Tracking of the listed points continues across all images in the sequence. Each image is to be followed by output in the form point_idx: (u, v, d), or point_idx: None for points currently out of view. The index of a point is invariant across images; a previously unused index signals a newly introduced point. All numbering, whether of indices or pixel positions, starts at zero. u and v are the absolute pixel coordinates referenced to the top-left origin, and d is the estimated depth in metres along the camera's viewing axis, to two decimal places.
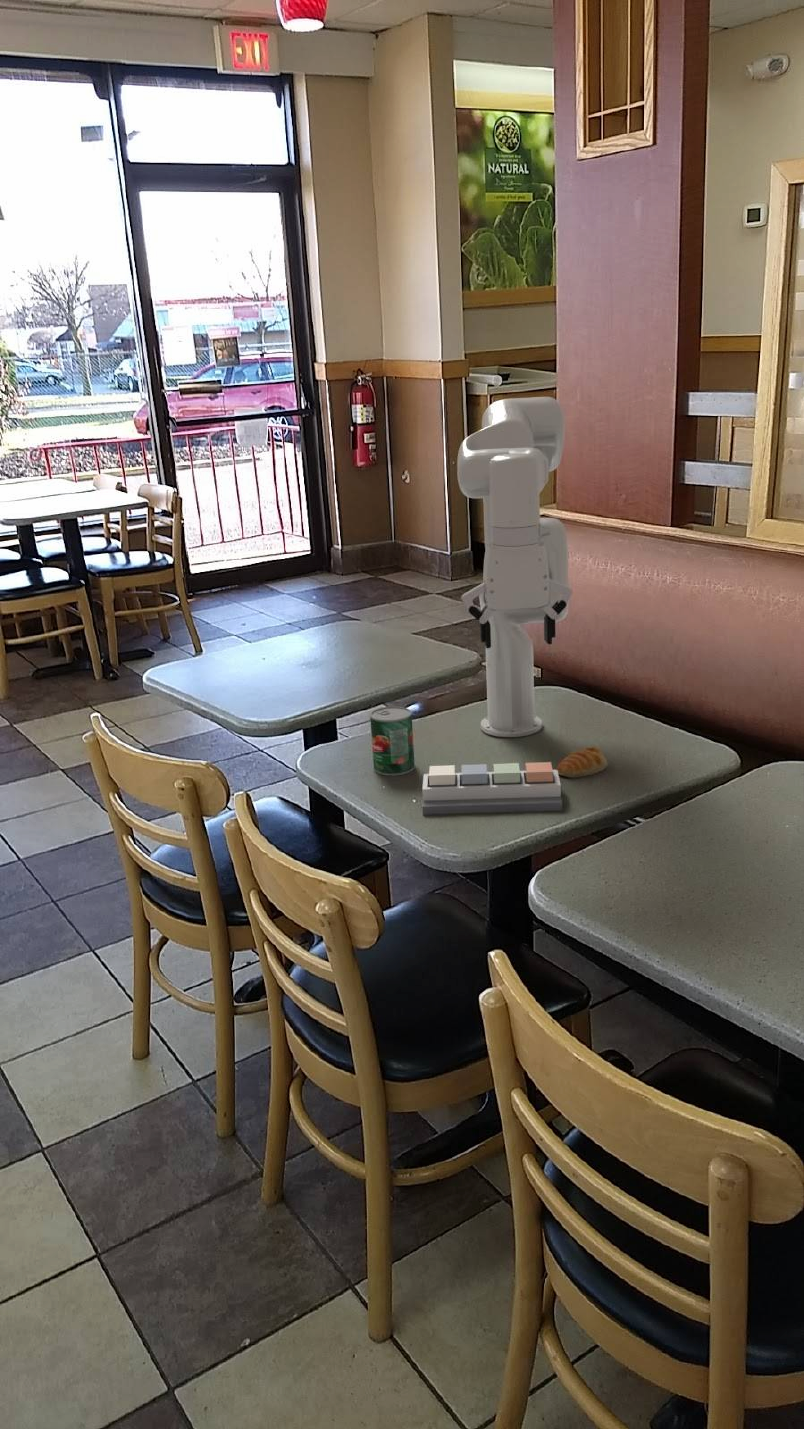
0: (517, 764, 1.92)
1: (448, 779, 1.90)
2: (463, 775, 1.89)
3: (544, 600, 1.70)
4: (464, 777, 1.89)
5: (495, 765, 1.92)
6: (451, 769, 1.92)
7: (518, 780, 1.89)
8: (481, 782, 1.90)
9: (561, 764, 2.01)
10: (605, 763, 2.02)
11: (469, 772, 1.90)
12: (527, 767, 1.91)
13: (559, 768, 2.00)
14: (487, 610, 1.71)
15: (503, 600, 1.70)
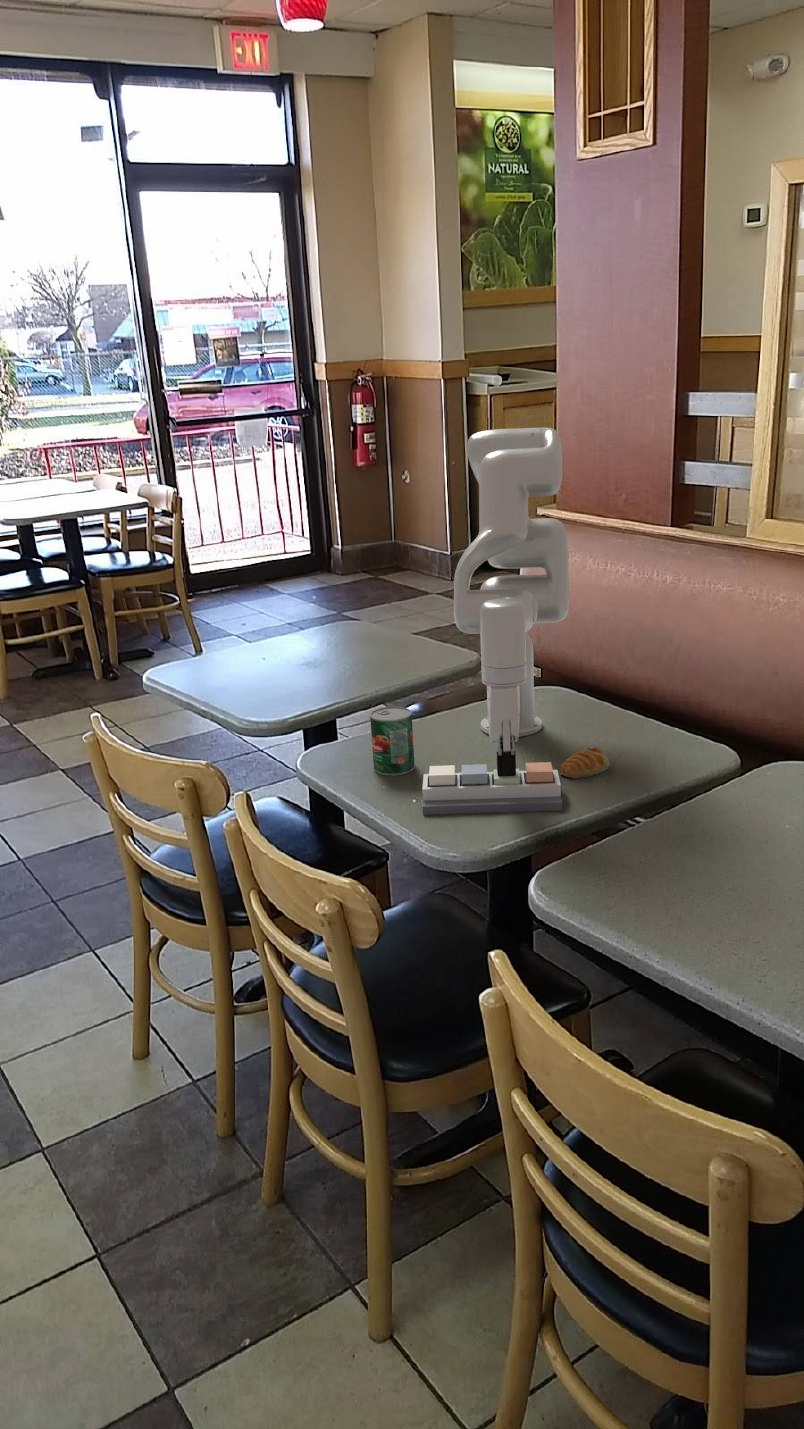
0: (517, 769, 1.93)
1: (448, 779, 1.90)
2: (463, 775, 1.89)
3: None
4: (464, 777, 1.89)
5: (495, 770, 1.93)
6: (451, 769, 1.92)
7: None
8: (481, 782, 1.90)
9: (564, 765, 2.00)
10: (608, 763, 2.02)
11: (469, 772, 1.90)
12: (527, 767, 1.91)
13: (562, 769, 2.00)
14: None
15: None
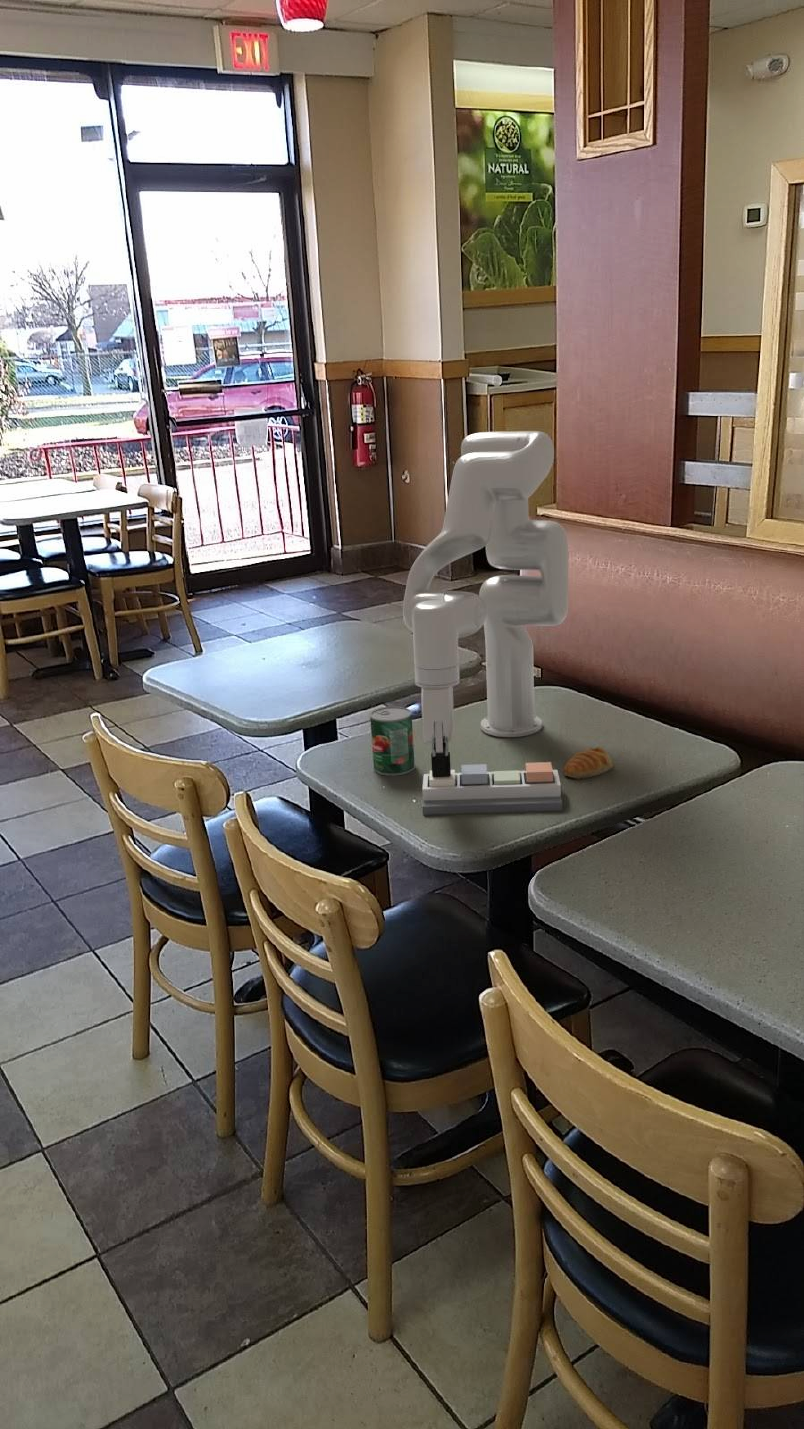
0: (517, 771, 1.93)
1: (449, 783, 1.90)
2: (463, 775, 1.89)
3: None
4: (464, 777, 1.89)
5: (495, 772, 1.93)
6: (451, 773, 1.92)
7: None
8: (481, 782, 1.90)
9: (567, 765, 2.00)
10: (610, 763, 2.02)
11: (469, 772, 1.90)
12: (527, 767, 1.91)
13: (565, 769, 2.00)
14: (447, 745, 1.88)
15: None
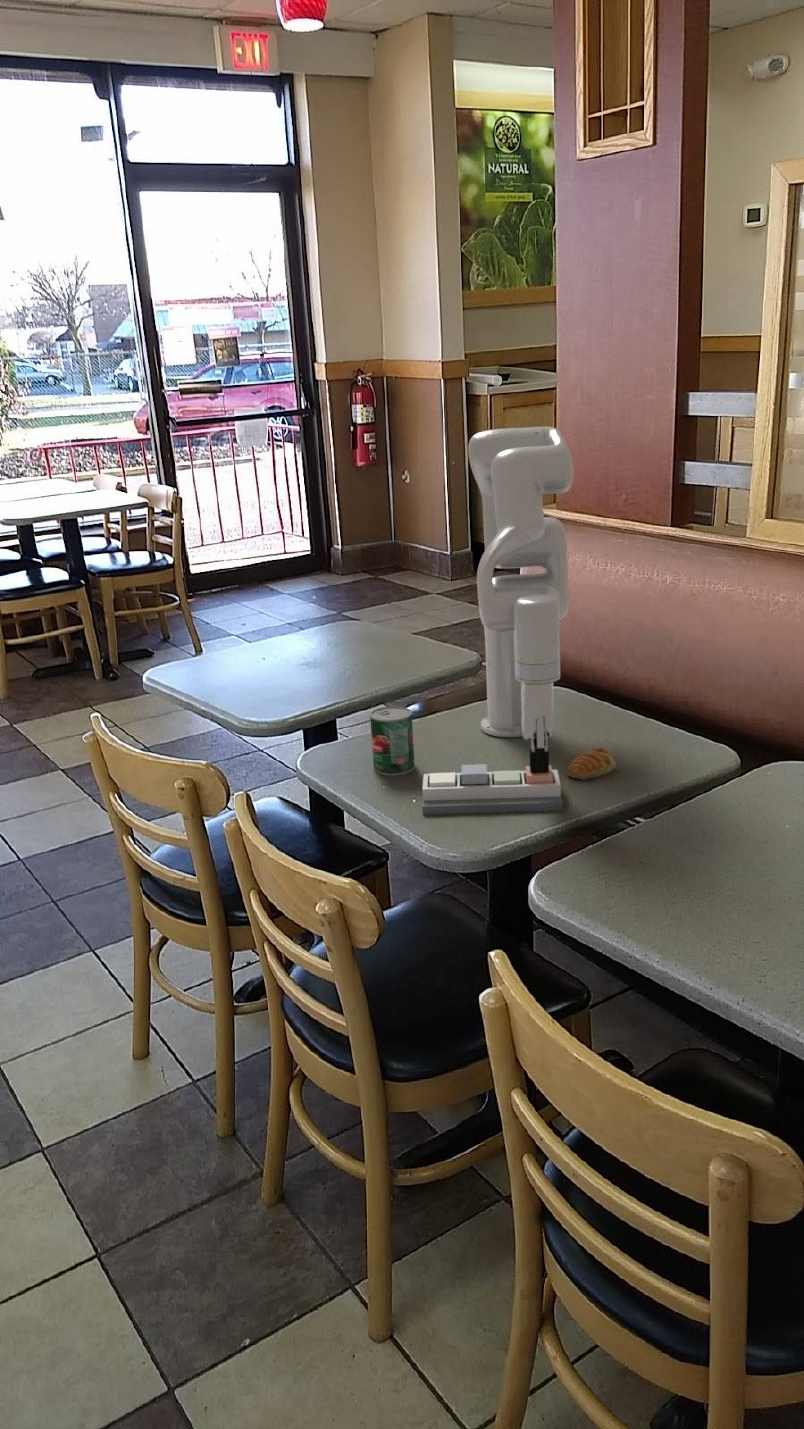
0: (517, 771, 1.93)
1: (449, 786, 1.90)
2: (463, 775, 1.89)
3: None
4: (464, 777, 1.89)
5: (495, 772, 1.93)
6: (451, 776, 1.92)
7: None
8: (481, 782, 1.90)
9: (571, 766, 2.00)
10: (614, 763, 2.02)
11: (469, 772, 1.90)
12: (527, 770, 1.91)
13: (569, 770, 1.99)
14: (547, 741, 1.87)
15: None
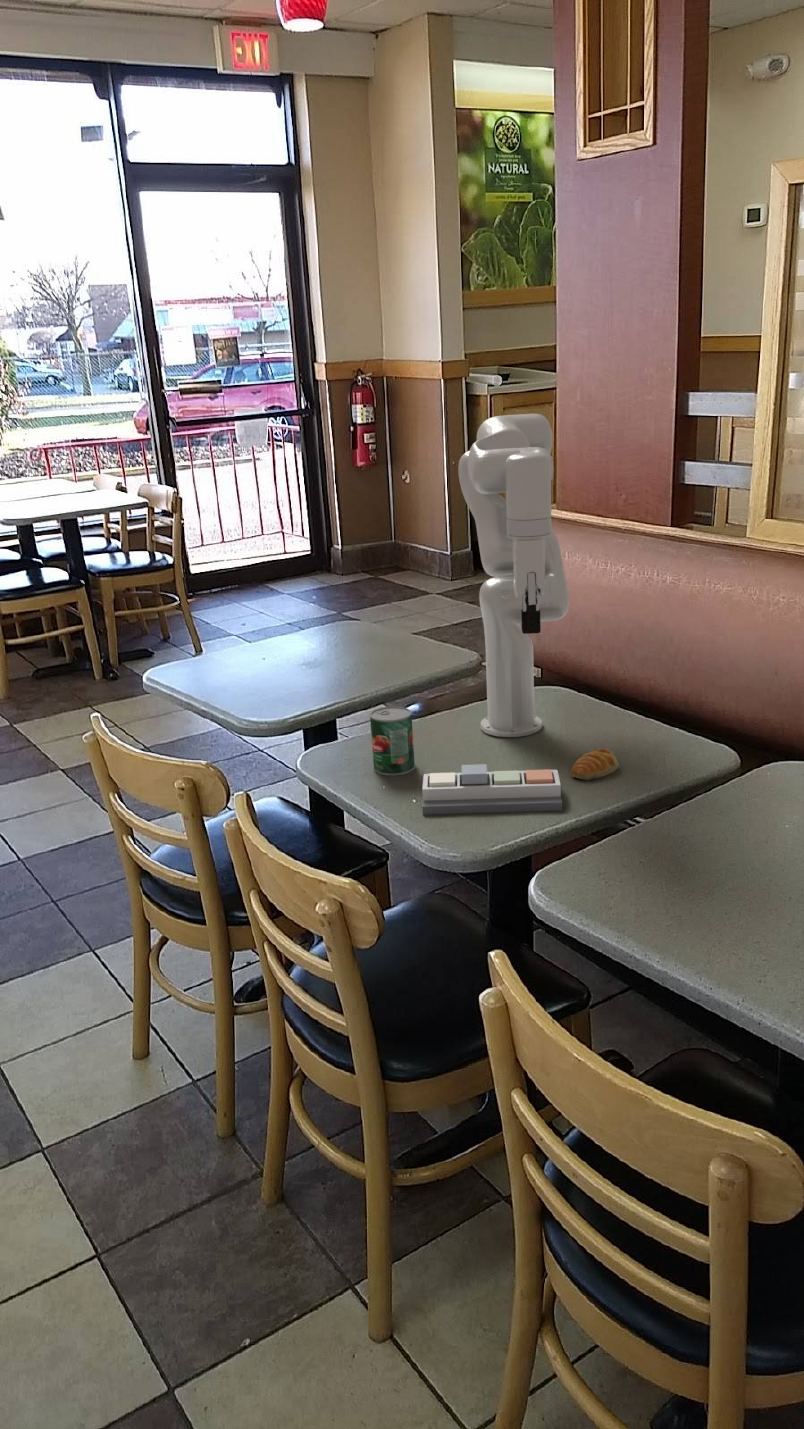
0: (517, 771, 1.93)
1: (449, 786, 1.90)
2: (463, 775, 1.89)
3: None
4: (464, 777, 1.89)
5: (495, 772, 1.93)
6: (451, 776, 1.92)
7: None
8: (481, 782, 1.90)
9: (575, 767, 1.99)
10: (617, 764, 2.01)
11: (469, 772, 1.90)
12: (527, 774, 1.91)
13: (574, 771, 1.99)
14: (538, 600, 1.89)
15: None
